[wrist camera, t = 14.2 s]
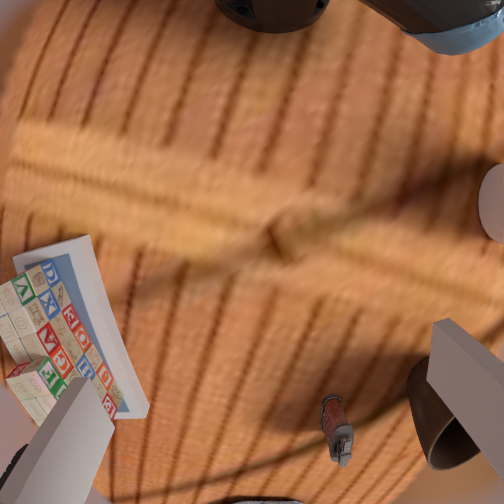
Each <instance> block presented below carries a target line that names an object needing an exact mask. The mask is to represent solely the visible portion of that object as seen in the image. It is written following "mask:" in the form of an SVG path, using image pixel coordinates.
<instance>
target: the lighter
mask: <svg viewBox="0 0 504 504" xmlns="http://www.w3.org/2000/svg"><path fill="white" fill-rule="evenodd" d="M320 425H321V429H322V432H323V433H324V434H325V437H326V440H327V443H328V446H329V452H330V457H331V460H332V461H334V462H338V463H339V466H340V467H344V466H347V464H348V460H349V459H351V449H352V445H353V439H354V434H353V428H352V426H351V424H350V423H349V422H348V420H347V418H346V415H345V413H344V411H343V408H342V406H341V401H340V398H339V396H338V395H335V394H331V395H328V396H326V397H325V398H324V399H323V402H322V405H321V409H320Z"/></svg>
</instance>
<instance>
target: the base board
mask: <svg viewBox="0 0 504 504" xmlns="http://www.w3.org/2000/svg"><path fill="white" fill-rule="evenodd" d="M12 258H13V262H14V265H15V269H16V272H17V275H19V274H20V273H22V272H24V271H26V270H29V269H31V268H33V267H35V266H37V265H39V264H41V263H43V262H46V261H48V260H50V259H53V261H54V264H55V266H56V269H57V271H58V273H59V275H60V278H61V281H62V282H63V284H64V287H65V289H66V291H67V293H68V295H69V298H70V300H71V304H72V305H73V307H74V309H75V311H76V313H77V315H78V317H79V319H80V321H81V323H82V324H83V326H84V328H85V330H86V332H87V334H88V336H89V338H90V339H91V342H92V343H93V344H94V345H95V347H96V349H97V351H98V352H99V354H100V356H101V358H102V360H103V362H104V363H105V365H106V367H107V368H108V370H109V372H110V373H111V375H112V376H113V378H114V381H115V382H116V384H117V385H118V387H119V389H120V390H121V392H122V393H123V395H124V397H123V399H122V401H121V404H120V406H119V408H118V409H117V412H116V415H115V417H114V419H135V418H146V415H147V412H148V409H149V406H150V405H149V403H148V401H147V399H146V397H145V394H144V392H143V390H142V388H141V385H140V383H139V381H138V378H137V376H136V374H135V371H134V369H133V366H132V364H131V361H130V359H129V356H128V354H127V351H126V349H125V346H124V343H123V341H122V338H121V335H120V333H119V330H118V327H117V324H116V322H115V319H114V316H113V313H112V310H111V307H110V304H109V301H108V298H107V295H106V292H105V288H104V285H103V282H102V279H101V275H100V272H99V268H98V265H97V261H96V258H95V254H94V250H93V247H92V243H91V239H90V235H89V234H87V235H84V236H80V237H76V238H72V239H69V240H65V241H61V242H58V243H54V244H51V245H47V246H44V247H40V248H37V249H33V250H30V251H26V252H23V253H21V254H19V255H16V256H14V257H12Z"/></svg>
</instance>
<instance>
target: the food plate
mask: <svg viewBox="0 0 504 504" xmlns="http://www.w3.org/2000/svg"><path fill="white" fill-rule="evenodd" d="M231 504H305V503H301V502H297V501H239V502H234V503H231Z"/></svg>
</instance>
